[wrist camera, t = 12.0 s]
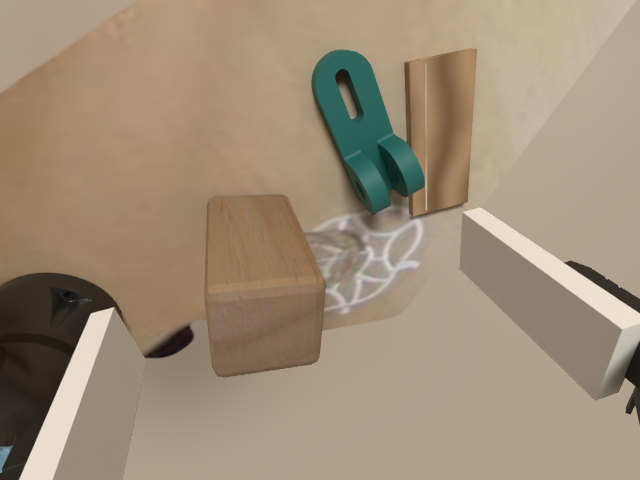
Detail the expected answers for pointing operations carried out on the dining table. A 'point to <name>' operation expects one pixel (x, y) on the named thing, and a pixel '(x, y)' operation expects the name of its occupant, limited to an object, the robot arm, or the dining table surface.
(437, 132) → the plank
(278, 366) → the block
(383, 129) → the bracket
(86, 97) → the dining table surface
